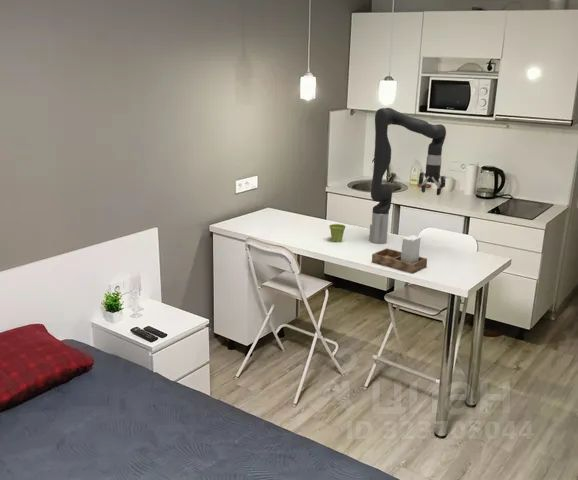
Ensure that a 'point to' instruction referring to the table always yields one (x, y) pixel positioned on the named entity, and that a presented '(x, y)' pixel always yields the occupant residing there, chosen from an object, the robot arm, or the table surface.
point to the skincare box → (410, 249)
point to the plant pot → (337, 232)
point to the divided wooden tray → (397, 261)
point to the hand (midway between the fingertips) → (430, 193)
